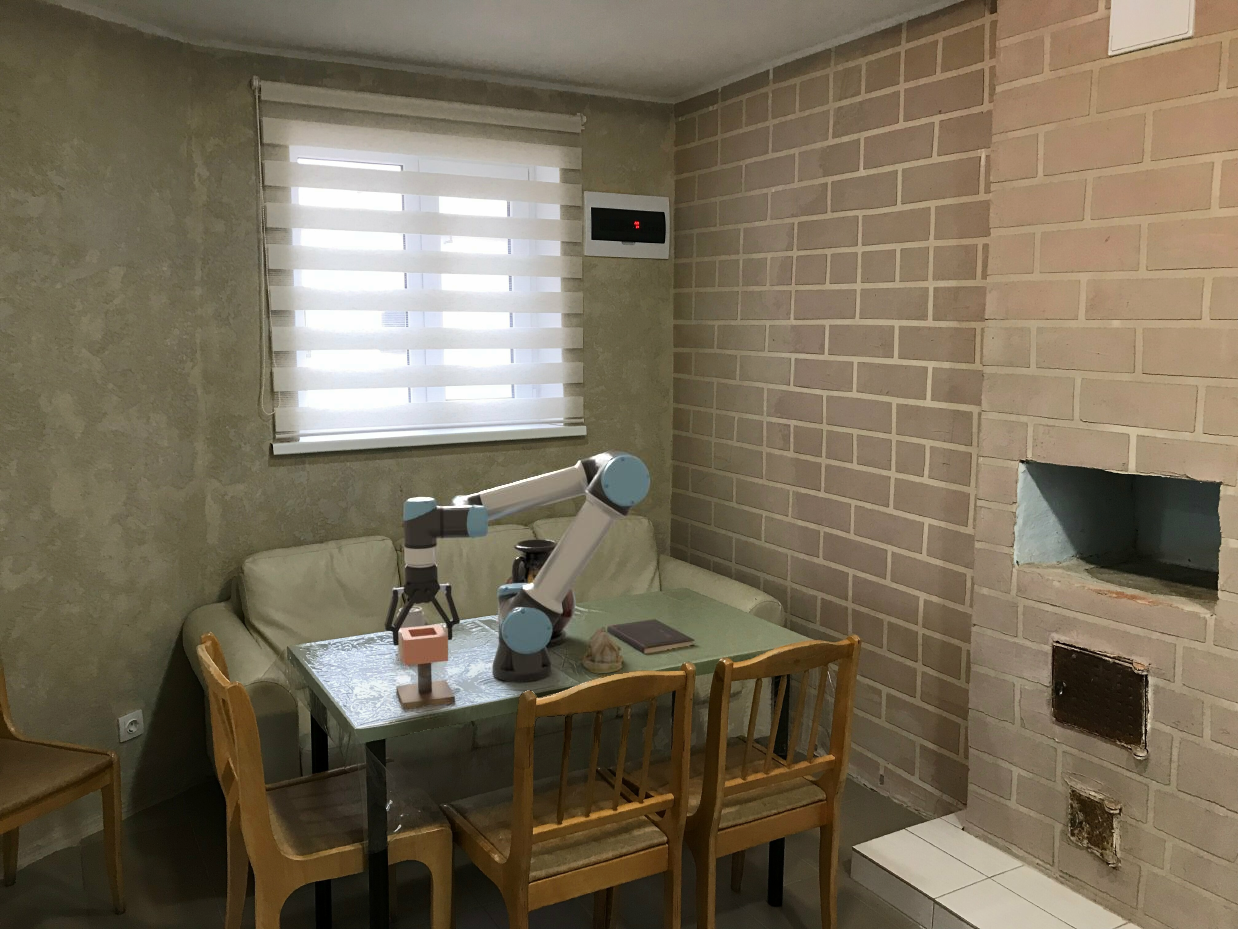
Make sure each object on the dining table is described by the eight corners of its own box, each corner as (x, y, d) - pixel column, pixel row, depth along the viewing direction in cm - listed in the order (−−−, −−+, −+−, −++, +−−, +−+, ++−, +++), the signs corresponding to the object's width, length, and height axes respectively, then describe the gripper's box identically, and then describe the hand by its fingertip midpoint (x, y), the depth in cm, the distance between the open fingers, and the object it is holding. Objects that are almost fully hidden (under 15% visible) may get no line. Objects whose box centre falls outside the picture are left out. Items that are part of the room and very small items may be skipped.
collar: (440, 648, 236) (440, 624, 236) (448, 660, 227) (447, 636, 226) (399, 652, 233) (398, 628, 232) (404, 665, 224) (404, 640, 223)
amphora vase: (541, 657, 260) (539, 554, 257) (484, 642, 273) (481, 545, 270) (591, 637, 277) (590, 541, 274) (535, 625, 290) (533, 533, 287)
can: (411, 645, 272) (409, 603, 270) (431, 649, 268) (430, 607, 266) (392, 652, 265) (390, 609, 264) (412, 657, 261) (411, 613, 260)
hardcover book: (655, 626, 290) (655, 619, 290) (694, 647, 270) (694, 639, 269) (607, 633, 283) (606, 626, 283) (643, 656, 263) (643, 647, 262)
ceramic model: (578, 658, 260) (578, 621, 259) (619, 655, 262) (619, 619, 261) (587, 675, 246) (586, 637, 245) (630, 672, 249) (630, 634, 247)
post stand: (446, 685, 239) (445, 646, 238) (455, 702, 228) (453, 661, 226) (396, 692, 235) (395, 652, 234) (403, 709, 224) (401, 667, 222)
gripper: (465, 557, 235) (467, 646, 237) (369, 564, 227) (372, 656, 230) (472, 563, 228) (473, 655, 230) (373, 571, 220) (376, 665, 223)
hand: (423, 655), depth 230 cm, fingers closed on collar, 10 cm apart
